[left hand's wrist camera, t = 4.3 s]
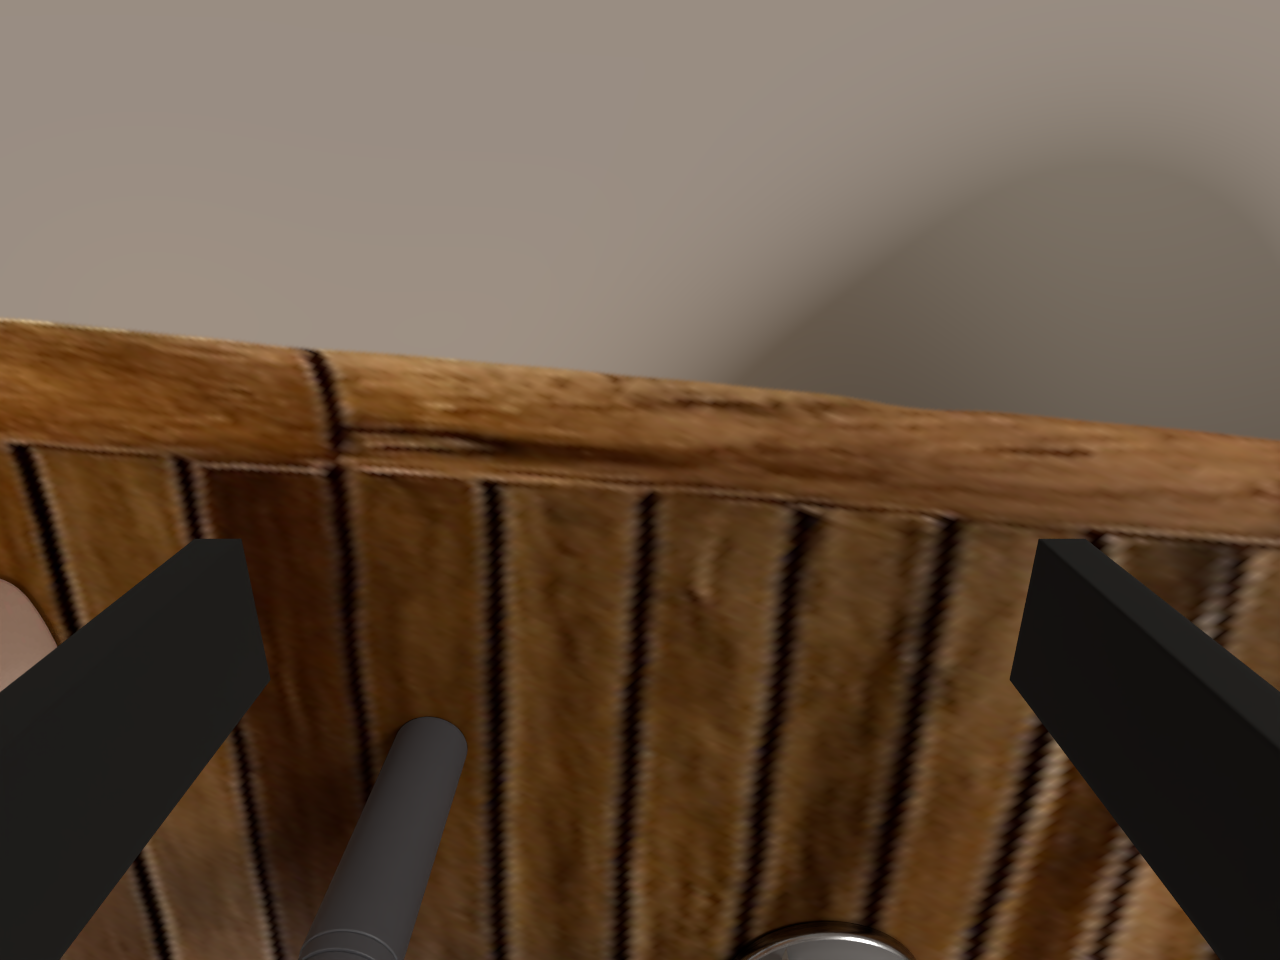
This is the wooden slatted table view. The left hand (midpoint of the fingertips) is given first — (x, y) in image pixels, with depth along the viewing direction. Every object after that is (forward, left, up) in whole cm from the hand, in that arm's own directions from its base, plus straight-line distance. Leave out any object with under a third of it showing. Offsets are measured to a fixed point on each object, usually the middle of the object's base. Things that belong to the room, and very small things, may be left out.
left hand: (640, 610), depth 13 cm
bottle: (-26, +13, -28) cm, 41 cm away
